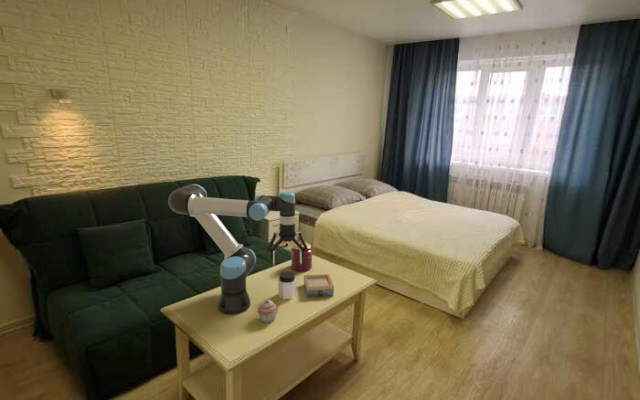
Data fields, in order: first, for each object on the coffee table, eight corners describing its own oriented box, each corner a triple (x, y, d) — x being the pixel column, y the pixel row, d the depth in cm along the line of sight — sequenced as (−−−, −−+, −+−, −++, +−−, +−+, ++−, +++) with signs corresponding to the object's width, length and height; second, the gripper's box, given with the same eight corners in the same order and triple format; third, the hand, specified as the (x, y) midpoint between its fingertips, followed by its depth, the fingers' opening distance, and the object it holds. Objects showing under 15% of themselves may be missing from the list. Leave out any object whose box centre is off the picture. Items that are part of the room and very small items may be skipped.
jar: (298, 296, 171) (298, 275, 168) (285, 301, 166) (285, 279, 163) (288, 289, 178) (288, 269, 175) (275, 294, 173) (275, 273, 170)
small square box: (307, 298, 170) (307, 288, 169) (303, 284, 184) (304, 275, 183) (333, 296, 172) (334, 286, 171) (328, 283, 186) (328, 274, 185)
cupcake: (253, 319, 151) (252, 299, 149) (269, 311, 158) (269, 292, 155) (266, 328, 145) (266, 307, 143) (282, 319, 152) (282, 299, 149)
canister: (303, 261, 214) (303, 235, 210) (316, 268, 205) (316, 241, 201) (286, 266, 206) (287, 239, 202) (299, 274, 197) (299, 246, 192)
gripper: (261, 226, 157) (262, 267, 162) (313, 224, 161) (312, 265, 166) (261, 221, 164) (262, 261, 169) (311, 220, 168) (310, 259, 173)
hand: (287, 263), depth 168 cm, fingers open, 13 cm apart
